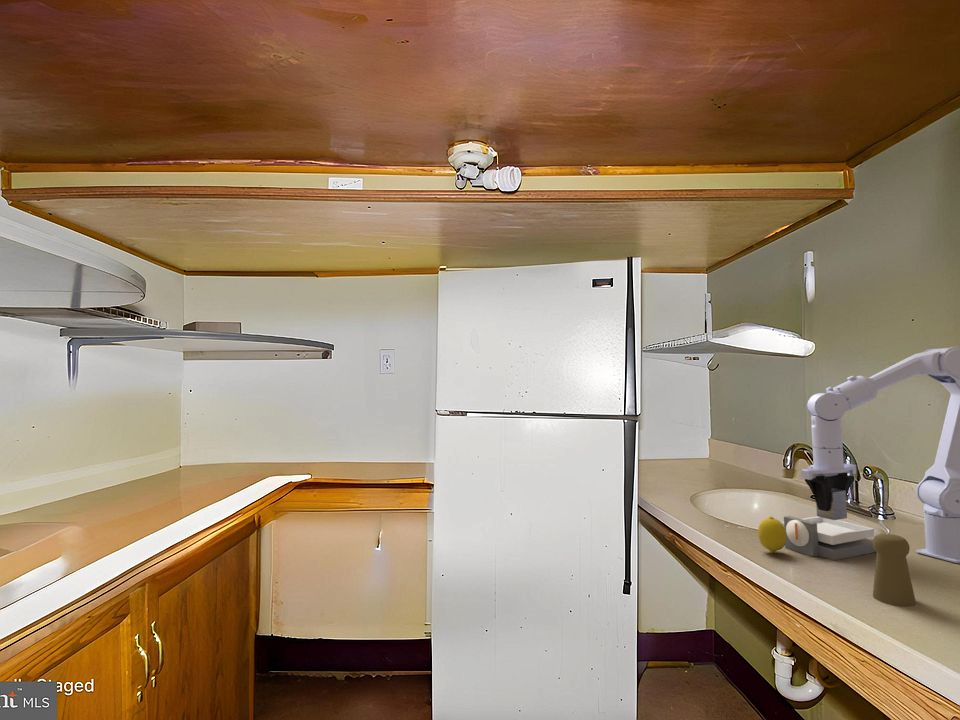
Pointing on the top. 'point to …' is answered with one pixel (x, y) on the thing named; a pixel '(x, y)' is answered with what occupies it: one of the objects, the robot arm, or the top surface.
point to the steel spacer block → (835, 506)
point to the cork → (892, 571)
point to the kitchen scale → (827, 537)
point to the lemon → (772, 534)
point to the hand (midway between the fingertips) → (831, 509)
